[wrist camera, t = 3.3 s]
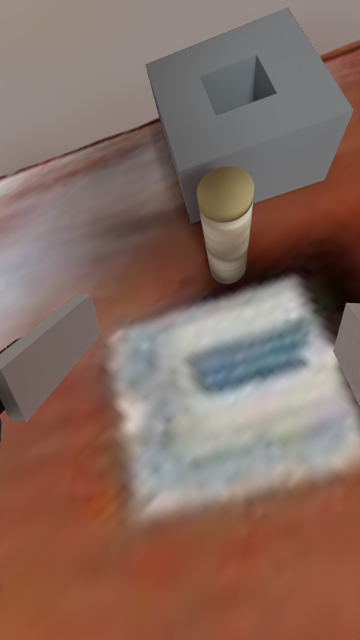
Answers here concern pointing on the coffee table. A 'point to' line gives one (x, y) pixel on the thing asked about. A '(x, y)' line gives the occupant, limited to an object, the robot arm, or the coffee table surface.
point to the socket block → (250, 108)
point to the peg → (226, 220)
